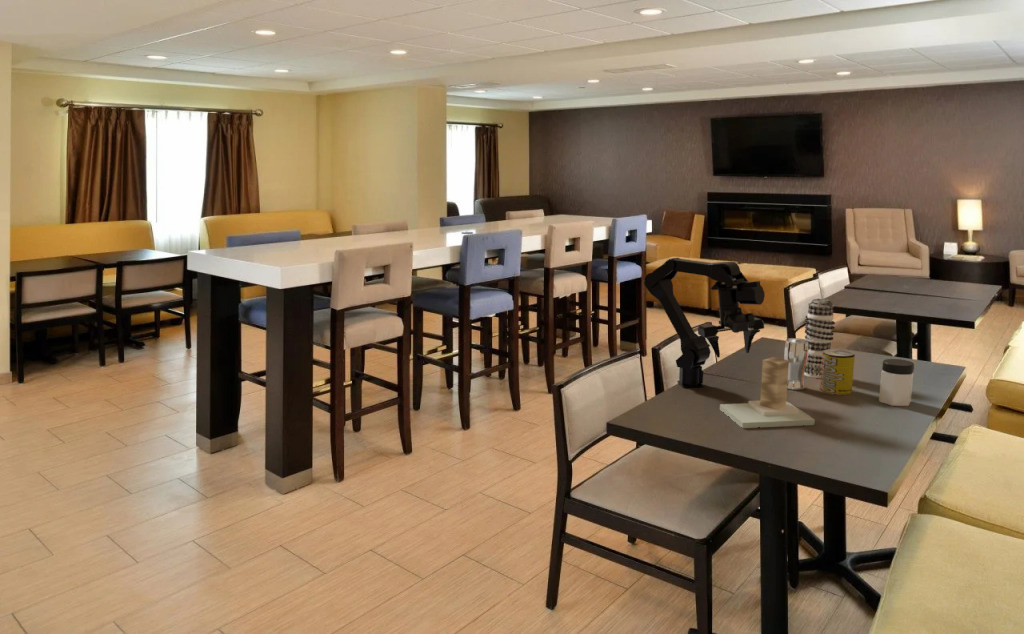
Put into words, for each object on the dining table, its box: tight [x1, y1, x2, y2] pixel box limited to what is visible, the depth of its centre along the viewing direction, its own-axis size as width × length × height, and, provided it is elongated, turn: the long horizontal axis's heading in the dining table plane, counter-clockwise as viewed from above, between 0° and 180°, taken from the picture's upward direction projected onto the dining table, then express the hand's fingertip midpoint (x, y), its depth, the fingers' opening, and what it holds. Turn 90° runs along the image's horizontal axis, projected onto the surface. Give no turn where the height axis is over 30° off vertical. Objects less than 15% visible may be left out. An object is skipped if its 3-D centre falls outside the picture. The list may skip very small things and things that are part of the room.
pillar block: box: [759, 356, 789, 410], centre depth 213 cm, size 5×5×13 cm
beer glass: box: [783, 337, 808, 391], centre depth 239 cm, size 7×7×15 cm
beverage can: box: [819, 348, 856, 396], centre depth 236 cm, size 9×9×12 cm
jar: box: [878, 358, 915, 407], centre depth 224 cm, size 9×8×12 cm
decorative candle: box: [804, 298, 836, 379], centre depth 252 cm, size 9×9×25 cm
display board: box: [719, 400, 816, 429], centre depth 213 cm, size 20×16×2 cm
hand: (732, 355), depth 232 cm, fingers open, 9 cm apart
